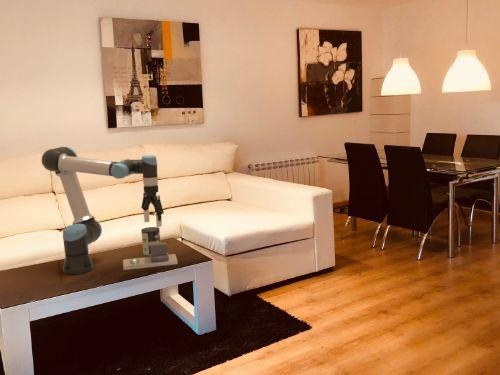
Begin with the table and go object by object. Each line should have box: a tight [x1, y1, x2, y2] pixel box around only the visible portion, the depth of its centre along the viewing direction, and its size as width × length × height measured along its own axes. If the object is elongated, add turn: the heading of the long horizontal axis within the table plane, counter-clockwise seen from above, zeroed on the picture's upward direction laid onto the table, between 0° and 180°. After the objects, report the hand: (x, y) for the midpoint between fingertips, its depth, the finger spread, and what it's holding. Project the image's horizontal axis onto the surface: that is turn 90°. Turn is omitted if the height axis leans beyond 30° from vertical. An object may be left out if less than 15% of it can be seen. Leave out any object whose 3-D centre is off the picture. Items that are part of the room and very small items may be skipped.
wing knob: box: [149, 242, 170, 262], centre depth 273 cm, size 10×10×8 cm
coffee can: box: [140, 226, 161, 256], centre depth 291 cm, size 10×10×14 cm
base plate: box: [122, 253, 178, 271], centre depth 273 cm, size 28×12×3 cm, turn 104°
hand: (153, 224), depth 271 cm, fingers open, 13 cm apart
